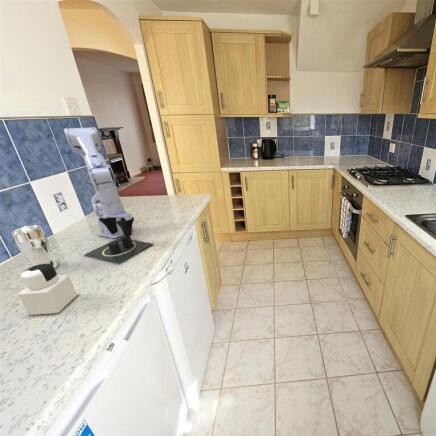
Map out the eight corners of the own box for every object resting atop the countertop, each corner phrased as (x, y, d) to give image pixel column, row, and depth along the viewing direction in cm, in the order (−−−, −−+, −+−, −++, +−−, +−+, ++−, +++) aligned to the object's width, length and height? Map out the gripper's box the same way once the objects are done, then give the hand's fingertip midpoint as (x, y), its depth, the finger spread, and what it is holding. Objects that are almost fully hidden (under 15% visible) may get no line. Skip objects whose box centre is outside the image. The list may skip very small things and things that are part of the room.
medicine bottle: (52, 296, 69) (33, 261, 65) (78, 294, 70) (61, 259, 65) (29, 315, 63) (7, 277, 58) (58, 313, 63) (38, 275, 59)
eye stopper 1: (109, 253, 89) (105, 244, 88) (117, 249, 92) (113, 240, 90) (115, 255, 88) (111, 245, 87) (122, 251, 91) (119, 241, 89)
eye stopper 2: (122, 247, 94) (119, 238, 92) (129, 243, 96) (126, 234, 95) (127, 248, 93) (124, 239, 91) (134, 244, 95) (131, 235, 94)
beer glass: (64, 264, 85) (46, 225, 79) (39, 276, 79) (18, 235, 73) (51, 261, 87) (32, 223, 81) (26, 272, 81) (4, 232, 75)
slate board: (85, 255, 90) (84, 253, 90) (120, 238, 102) (120, 237, 102) (119, 264, 84) (118, 262, 84) (152, 245, 96) (152, 243, 96)
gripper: (85, 202, 86) (98, 236, 92) (113, 207, 81) (125, 242, 87) (105, 196, 92) (116, 228, 98) (132, 200, 87) (142, 233, 93)
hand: (121, 234), depth 93 cm, fingers open, 7 cm apart
